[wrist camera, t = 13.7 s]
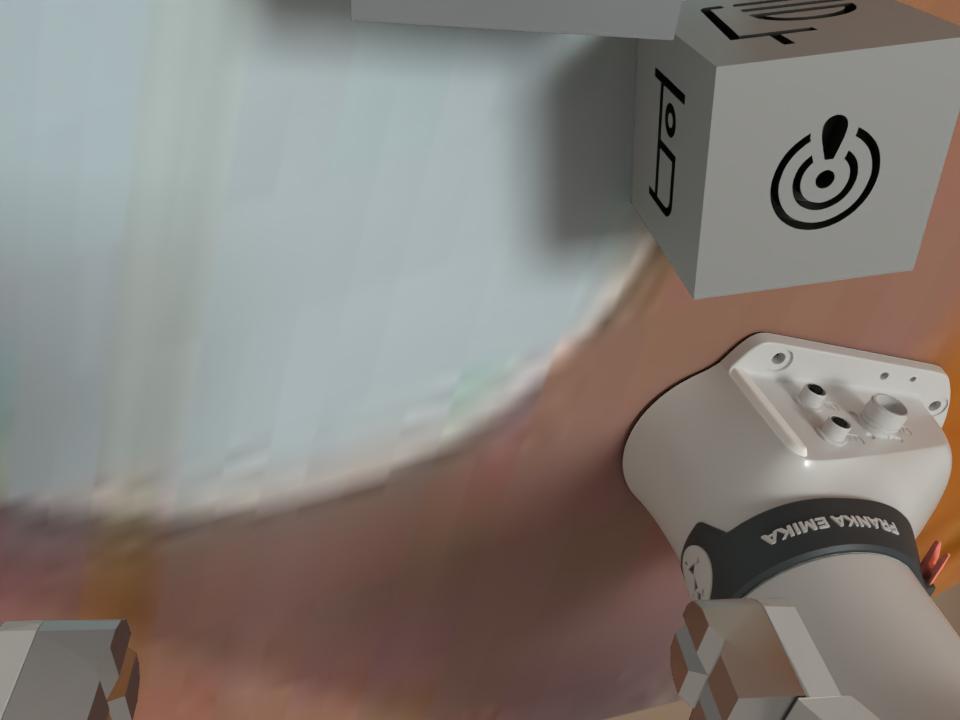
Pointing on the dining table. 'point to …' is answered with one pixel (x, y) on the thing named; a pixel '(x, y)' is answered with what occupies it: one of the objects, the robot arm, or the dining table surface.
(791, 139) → the icon cube
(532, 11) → the grey block
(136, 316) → the dining table surface
